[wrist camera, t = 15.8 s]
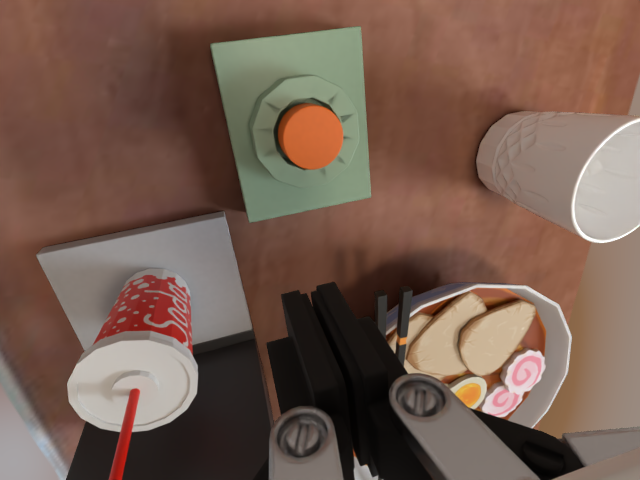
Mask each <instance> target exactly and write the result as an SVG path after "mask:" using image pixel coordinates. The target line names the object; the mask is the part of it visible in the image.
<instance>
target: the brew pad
mask: <svg viewBox="0 0 640 480" xmlns="http://www.w3.org/2000/svg"><path fill="white" fill-rule="evenodd" d="M210 49H211V54H212V58H213V63H214V67H215V72H216V76H217V81H218V86H219V90H220V95H221V99H222V104H223V108H224V113H225V118H226V122H227V127H228V131H229V136H230V140H231V145H232V150H233V154H234V159H235V163H236V168H237V172H238V177H239V182H240V186H241V191H242V195H243V200H244V204H245V209H246V213H247V217H248V221H249V223H252V222H256V221H261V220H266V219H271V218H275V217H280V216H285V215H290V214H294V213H299V212H304V211H309V210H313V209H318V208H323V207H328V206H332V205H337V204H342V203H347V202H351V201H356V200H361V199H366V198H370V197H371V186H370V170H369V153H368V136H367V120H366V103H365V87H364V70H363V54H362V37H361V26H356V27H348V28H339V29H331V30H322V31H313V32H305V33H296V34H288V35H279V36H271V37H262V38H254V39H245V40H236V41H228V42H219V43H211V44H210ZM302 103H312V104H316V105H319V106H322V107H325V108H327V109H329V110H330V111H332V112H333V113H334V114H335V115H336V116H337V118H338V119H339V121H340V123H341V125H342V129H343V144H342V147H341V150H340V152H339V154H338V155H337V157H336V158H335V159H334V160H333V161H332V162H331V163H330V164H328V165H327V166H325V167H323V168H320V169H314V170H309V169H304V168H301V167H299V166H297V165H296V164H294V163H293V162H292V161H291V160H290V159H289V158H288V157H287V156H286V155H285V154H284V152H283V151H282V149H281V147H280V144H279V141H278V127H279V124H280V121H281V119H282V117H283V116H284V115H285V113H286V112H287V111H288V110H289V109H291V108H292V107H294V106H296V105H298V104H302Z"/></svg>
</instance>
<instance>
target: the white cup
mask: <svg viewBox="0 0 640 480" xmlns="http://www.w3.org/2000/svg"><path fill="white" fill-rule="evenodd" d="M476 165H477V171H478V177H479V179H480V180H481V181H482V182H483V183H484V185H485V186H486V187H487V188H488V189H489V190H491V191H493V192H496V193H498V194H500V195H502V196H504V197H506V198H507V199H509V200H510V201H512V202H513V203H515V204H517V205H519V206H521V207H523V208H525V209H526V210H528V211H530V212H532V213H533V214H535V215H537V216H539V217H541V218H543V219H545V220H547V221H549V222H551V223H553V224H555V225H558V226H560V227H562V228H564V229H566V230H568V231H570V232H572V233H574V234H576V235H578V236H580V237H581V238H583V239H585V240H588V241H590V242H595V243H606V242H610V241H614V240H617V239H619V238H622V237H623V236H626V235H627V234H629V233H631V232H632V231H634V230H635V229H636V228H638V227H639V226H640V116H632V115H615V114H599V113H582V112H531V111H521V112H516V113H511V114H507V115H505V116H504V117H503V118H501V119H500V120H499V121H497V122H496V123H495V124H493V125H492V126H491V127H490V129H489V130H488V132H487V133H486V135H485V136H484V138H483V139H482V141H481V143H480V146H479V150H478V155H477V159H476Z"/></svg>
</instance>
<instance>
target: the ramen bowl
mask: <svg viewBox="0 0 640 480" xmlns="http://www.w3.org/2000/svg"><path fill="white" fill-rule="evenodd" d="M412 293H413V290H412V289H411V288H410V287H409V286H405V287H400V292H399V304H398V305H397V306H395V307H394V308H393V309H391V310H390V311H389V312H387V294H386V293H385V292H384V290H382V291H377V292H374V295H375V322H374V323H375V324H376V326H377V327H378V329H379V330H380V332H381V333H382V335H383V336H384V338H385V339H386V341H387V342H388V344H389V345H390V347H391V348H392V350H393V351H394V353H395V354H396V356H397V357H398V359H399V360H400V362H401V363H402V365H403V366H404V368H405V369H406V371H407V372H408V374H410V373H422V374H427V375H430V376H433V377H435V378H437V379H439V380H440V381H441V382H443V383H444V384H445V385H446V386H447V387H448V388H449V389H450V390H451V391H452V392H453V393H454V394H455V395H456V396H457V397H458V398H459V399H460V400H461V401H462V402H463V403H464V404H465V405H466V406H467V407H469V408H472V409H475V410H478V411H481V412H484V413H487V414H490V415H493V416H496V417H499V418H502V419H505V420H508V421H511V422H514V423H517V424H520V425H523V426H526V427H529V428H533V427H534V426H535V425H536V424H537V423H538V421H539V420H540V419H541V418H542V417H543V415H545V413H546V412H547V411H548V410H549V408H550V406H551V404H552V402H553V400H554V398H555V397H556V395H557V393H558V391H559V389H560V387H561V385H562V383H563V381H564V379H565V377H566V375H567V373H568V366H569V358H570V349H571V341H572V335H571V333H570V330H569V328H568V325H567V323H566V320H565V318H564V315H563V313H562V310H561V308H560V305H559V304H557V303H555V302H554V301H552V300H550V299H548V298H547V297H545V296H543V295H542V294H540V293H538V292H536V291H535V290H533V289H531V288H530V287H528V286H524V285H516V284H506V283H471V282H461V283H450V284H447V285H444V286H441V287H438V288H435V289H433V290H430V291H427V292H424V293H422V294H419V295H416V296H414V297H412ZM353 454H354V464H355V469H354V478H355V480H383V479H380V477H379V475H378V476H375V477H372V476H371V473H370V471H369V468H368V466H367V465H364V466H360V465H359V462H358V460H357V457H356V455H355V452H354V450H353Z"/></svg>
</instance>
